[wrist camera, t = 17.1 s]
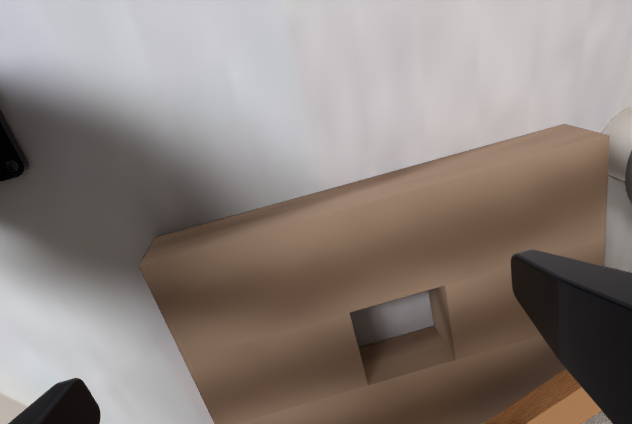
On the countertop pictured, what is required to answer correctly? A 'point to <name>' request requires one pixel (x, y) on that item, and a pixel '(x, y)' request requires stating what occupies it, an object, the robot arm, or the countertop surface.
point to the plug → (621, 148)
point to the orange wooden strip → (551, 404)
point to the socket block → (383, 287)
